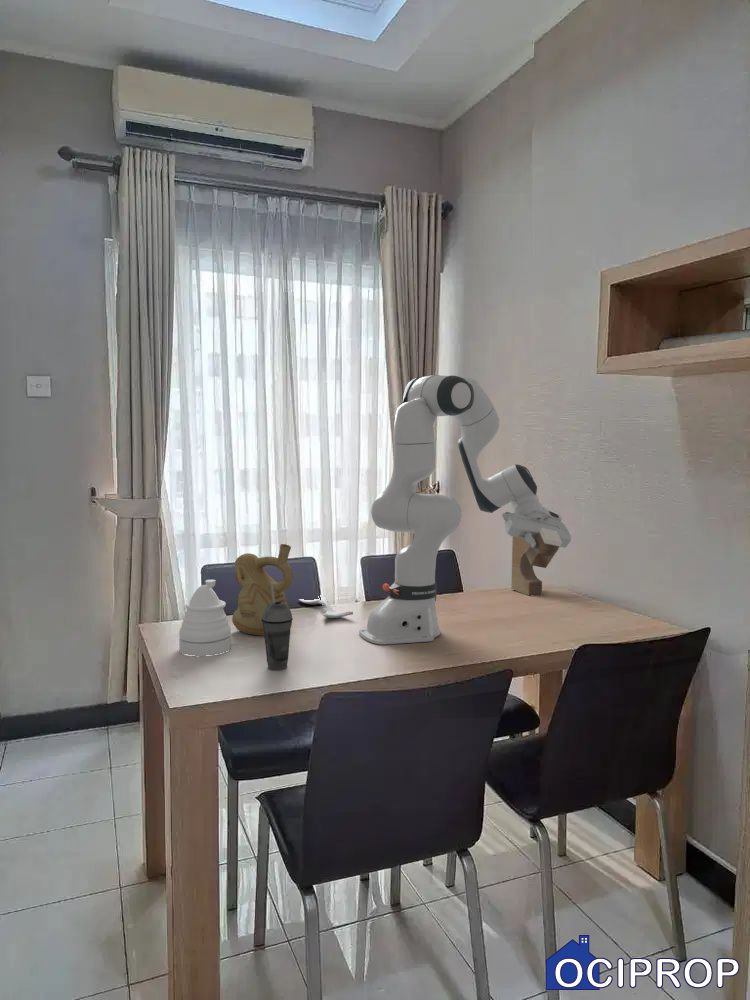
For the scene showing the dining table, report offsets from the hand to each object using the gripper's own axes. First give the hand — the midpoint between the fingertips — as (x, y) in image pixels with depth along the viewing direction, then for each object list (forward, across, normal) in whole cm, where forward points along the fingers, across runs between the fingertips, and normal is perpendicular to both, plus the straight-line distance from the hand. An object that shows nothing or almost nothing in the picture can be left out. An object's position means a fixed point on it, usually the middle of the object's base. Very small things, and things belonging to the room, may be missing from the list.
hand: (545, 548), depth 195 cm
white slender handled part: (-11, -50, +50) cm, 72 cm away
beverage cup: (+34, -71, +26) cm, 83 cm away
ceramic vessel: (+7, -71, +43) cm, 83 cm away
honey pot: (+20, -86, +39) cm, 97 cm away
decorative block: (-25, +22, +39) cm, 52 cm away
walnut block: (-1, 0, +6) cm, 6 cm away
